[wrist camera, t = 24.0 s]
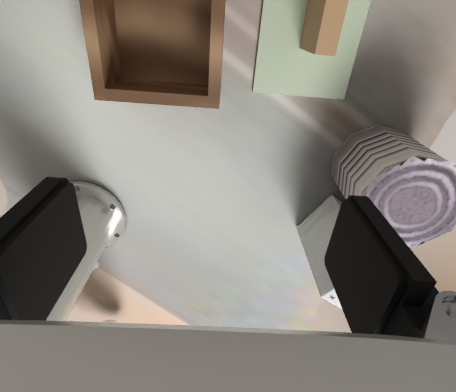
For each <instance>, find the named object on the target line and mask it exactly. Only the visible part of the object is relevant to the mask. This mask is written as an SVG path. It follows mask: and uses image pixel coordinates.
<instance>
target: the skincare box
mask: <svg viewBox="0 0 456 392" xmlns="http://www.w3.org/2000/svg"><path fill="white" fill-rule="evenodd" d="M341 203H342V202H341V201H340V200H339V199H337V198H336V197H335V196H334V195H331V196H329V197H328V198H327V199H326V200H325V201H324V202H323V203H322V204H321V205H320V206H319V207H318V208H317V209H316V210H315V211H313V212H312V213H311V214H310V215H309V216H308V217H307V218H306V219H305V220H304V221H303V222H302V223H301V224H300V225H298V226H297V227H296V228H297V231H298V234H299V237H300V239H301V242H302V245H303V248H304V250H305V253H306V256H307V259H308V262H309V265H310V268H311V270H312V273H313V276H314V279H315V281H316V284H317V287H318V290H319V293H320V296H321V297H322V298H324V299H326V300H327V301H329V302H330V303H332V304H334V305H335V306H337V307H339V308H341V309H342V307H341V304H340V302H339V299H338V297H337V294H336V292H335V289H334V287H333V284H332V282H331V280H330V277H329V275H328V272H327V270H326V267H325V263H324V257H325V254H326V250H327V247H328V244H329V241H330V238H331V235H332V232H333V228H334V225H335V222H336V219H337V216H338V213H339V210H340V206H341ZM342 310H343V309H342Z"/></svg>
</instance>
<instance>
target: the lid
mask: <svg viewBox="0 0 456 392" xmlns="http://www.w3.org/2000/svg"><path fill="white" fill-rule="evenodd" d="M370 2H371V0H263V7H262V15H261V24H260V32H259V40H258V49H257V57H256V66H255V74H254V83H253V92H258V93H270V94H282V95H294V96H306V97H318V98H330V99H342V100H344V97H345V94H346V90H347V86H348V83H349V79H350V75H351V72H352V68H353V64H354V61H355V57H356V53H357V50H358V46H359V43H360V39H361V35H362V32H363V28H364V24H365V21H366V17H367V13H368V10H369V6H370Z"/></svg>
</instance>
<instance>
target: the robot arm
mask: <svg viewBox="0 0 456 392" xmlns="http://www.w3.org/2000/svg"><path fill="white" fill-rule="evenodd" d="M126 222H127V221H126V215H125V212H124V209H123V208H122V206H121V204H120V203H119V201H118V200H117V199H116V198H115V197H114V196H113V195H112V194H110V193H109V192H108V191H106V190H105V189H103V188H101V187H99V186H97V185H94V184H91V183H87V182H82V181H68V180H67V179H66V178H55V177H47V178H45V179H44V180H43V181H41V182H40V183H39V184H38V185H37V186H36V187H35V188H34V189H32V190H31V191H30V192H29V193H28V194H27V195H26V196H24V197H23V198H22V199H21V200H20V201H19V202H18V203H17V204H15V205H14V206H13V207H12V208H11V209H10V210H9V211H7V212H6V213H5V214H4V215H3V216H2V217H1V218H0V392H456V292H454V291H442V292H440V293H439V292H438V290H437V289H436V288H435V287H434V286H435V284H436V281H435V279H434V278H433V277H432V276H431V274H430V273H429V272H428V271H427V269H426V268H425V267H424V266H423V264H422V263H421V262H420V261H419V259H418V258H417V257H416V256H415V255H414V253H413V252H412V251H411V250H410V248H409V247H408V246H407V244H406V243H405V242H404V241H403V239H402V238H401V237H400V236H399V234H398V233H397V232H396V231H395V230H394V228H393V227H392V226H391V225H390V223H389V222H388V221H387V220H386V218H385V217H384V216H383V215H382V213H381V212H380V211H379V210H378V208H377V207H376V206H375V205H374V203H373V202H372V201H371V200H370V198H369V197H367V196H356V195H350V196H349V197H348V198H347V199H344V200H343V201H342V203H341V206H340V210H339V213H338V216H337V219H336V222H335V225H334V228H333V232H332V235H331V238H330V241H329V244H328V247H327V250H326V254H325V257H324V263H325V267H326V270H327V272H328V275H329V277H330V280H331V282H332V284H333V287H334V289H335V292H336V294H337V297H338V299H339V302H340V304H341V307H342V309H343V312H344V314H345V317H346V319H347V322H348V324H349V326H350V329H351V331H352V333H346V332H326V331H304V330H282V329H260V328H236V327H211V326H186V325H160V324H133V323H104V322H74V321H66V320H67V318H68V316H69V314H70V312H71V310H72V308H73V307H74V305H75V303H76V301H77V299H78V297H79V295H80V293H81V291H82V290H83V288H84V286H85V284H86V282H87V280H88V278H89V276H90V274H91V273H92V271H93V269H97V268H99V267H100V262H99V257H100V256H101V254H102V252H103V250H104V249H105V248H108V247H110V246H112V245H114V244H115V243H117V242H118V241H119V240H120V239H121V237H122V235H123V233H124V231H125V228H126Z"/></svg>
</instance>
